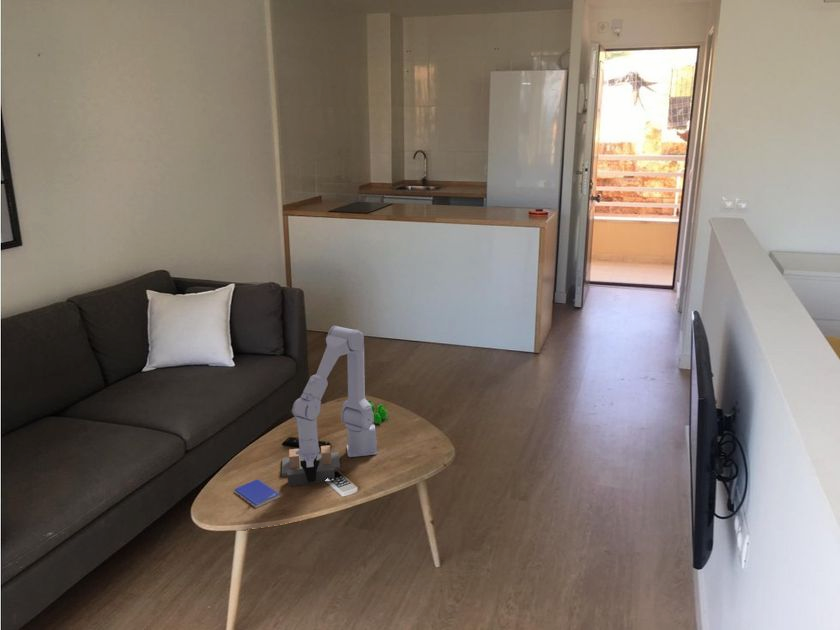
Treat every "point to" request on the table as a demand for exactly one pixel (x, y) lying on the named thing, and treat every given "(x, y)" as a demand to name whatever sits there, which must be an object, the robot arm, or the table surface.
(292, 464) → the display stand
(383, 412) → the green bumpy cluster
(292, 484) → the dark gray bar
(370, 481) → the table surface
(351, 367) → the robot arm
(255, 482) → the hard drive
